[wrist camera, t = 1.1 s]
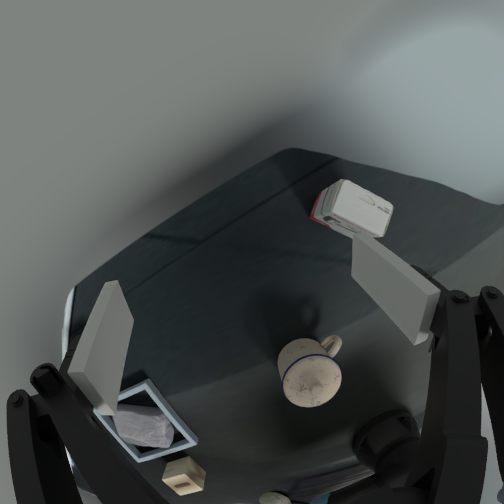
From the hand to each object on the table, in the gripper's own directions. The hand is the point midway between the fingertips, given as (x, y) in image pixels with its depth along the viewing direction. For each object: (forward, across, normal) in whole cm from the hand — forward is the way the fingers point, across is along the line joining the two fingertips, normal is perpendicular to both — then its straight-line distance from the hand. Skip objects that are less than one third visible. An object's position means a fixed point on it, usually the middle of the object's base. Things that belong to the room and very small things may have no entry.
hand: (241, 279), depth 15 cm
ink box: (+29, -19, +9) cm, 36 cm away
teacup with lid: (+20, -10, +30) cm, 37 cm away
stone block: (+19, +23, +41) cm, 50 cm away
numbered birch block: (+13, +18, +52) cm, 57 cm away
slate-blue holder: (+19, +23, +40) cm, 50 cm away
